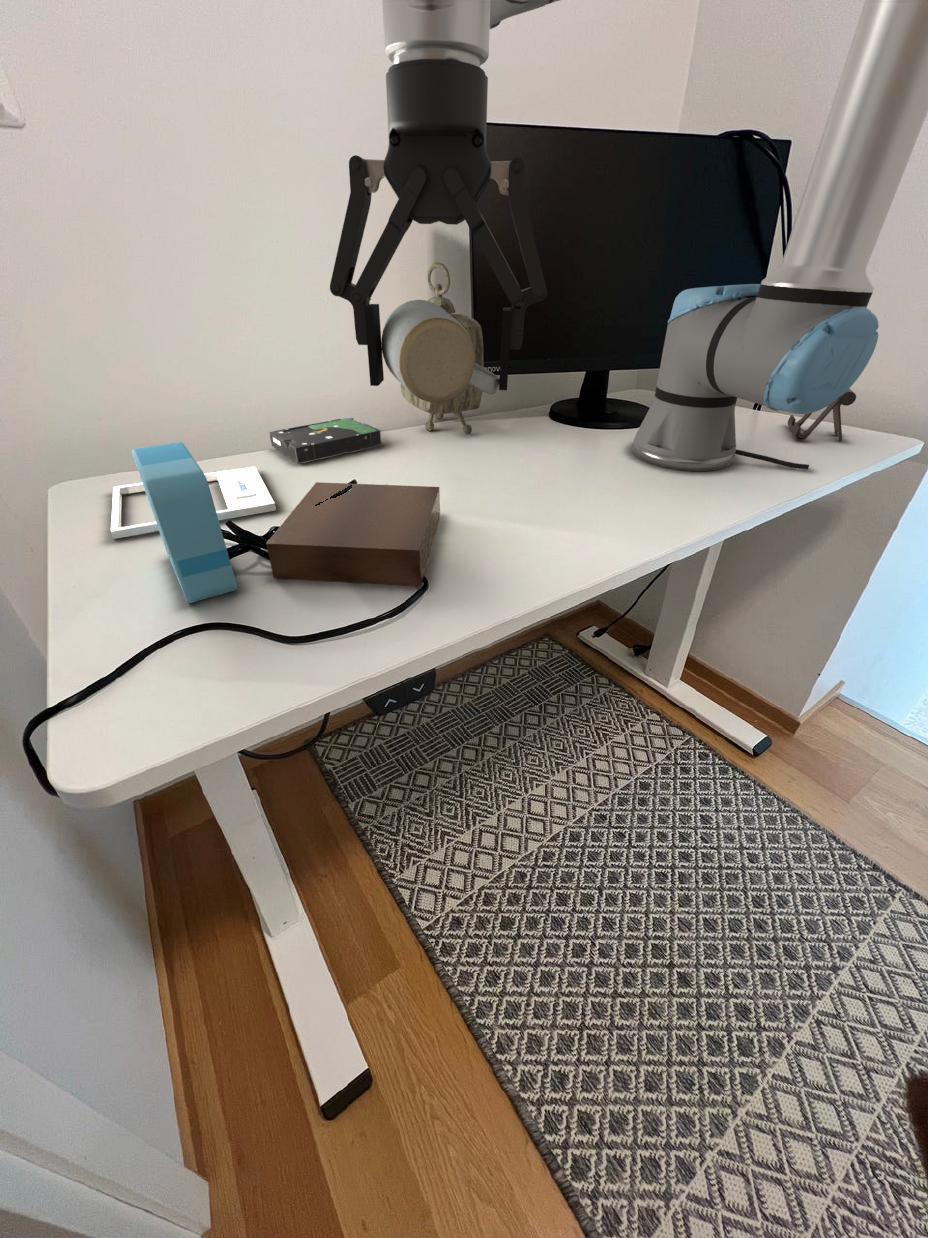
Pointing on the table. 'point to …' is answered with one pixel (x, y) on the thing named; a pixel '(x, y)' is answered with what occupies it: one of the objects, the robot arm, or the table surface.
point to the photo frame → (241, 498)
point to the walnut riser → (358, 535)
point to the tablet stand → (842, 400)
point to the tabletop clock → (470, 395)
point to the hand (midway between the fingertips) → (439, 385)
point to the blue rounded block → (186, 520)
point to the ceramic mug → (432, 353)
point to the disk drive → (325, 439)
